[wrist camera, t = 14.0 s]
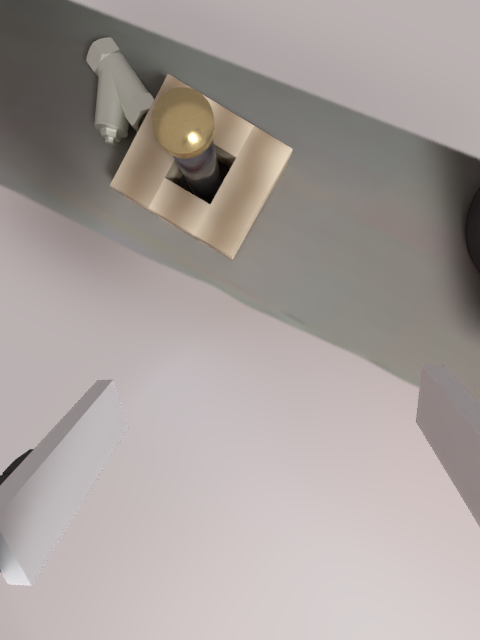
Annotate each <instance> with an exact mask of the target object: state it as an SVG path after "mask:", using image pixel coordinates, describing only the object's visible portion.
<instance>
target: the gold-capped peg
mask: <svg viewBox="0 0 480 640" xmlns="http://www.w3.org/2000/svg"><path fill="white" fill-rule="evenodd" d="M152 127H153V131H154V133H155V135H156V137H157V139H158V141H159V143H160V144H161V146H162V147H163V148H164V149H165V150H166V151H167V152H168V153H169V154H171V155H173V157H174V159H175V161H176V163H177V164H178V166H179V168H180V170H181V172H182V174H183V176H184V177H185V179H186V181H187V183H188V185H189V187H190V189H191V190H192V192H193V193H194V194H195V195H196V196H197V197H199V198H202V199H210V198H212V197H214V196H215V195H216V193H217V192H218V190H219V188H220V186H221V184H222V180H221V175H220V170H219V166H218V161H217V156H216V152H215V147H214V142H213V138H214V134H215V121H214V116H213V111H212V108H211V106H210V104H209V102H208V100H207V99H206V98H205V97H204V96H203V95H202V94H201V93H199V92H198V91H196V90H194V89H191V88H187V87H178V88H174V89H171V90H169V91H167V92H166V93H164V94H163V95H162V96H161V97H160V98H159V99H158V101H157V102H156V104H155V106H154V109H153V112H152Z"/></svg>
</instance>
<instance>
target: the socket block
mask: <svg viewBox="0 0 480 640" xmlns="http://www.w3.org/2000/svg"><path fill="white" fill-rule="evenodd" d="M178 87H187V88H191V87H189V86H188V85H186V84H184V83H183V82H181V81H179V80H178V79H176V78H174V77H173V76H171V75H169V74H168V75H167V77H166V78H165V80H164V82H163V84H162V86H161V88H160V90H159V92H158V94H157V96H156V98H155V100H154V102H153V103H152V105H151V107H150V109H149V111H148V113H147V115H146V117H145V119H144V121H143V123H142V125H141V127H140V129H139V130H138V132H137V134H136V136H135V138H134V140H133V142H132V144H131V146H130V148H129V150H128V152H127V154H126V155H125V157H124V159H123V161H122V163H121V165H120V167H119V169H118V171H117V173H116V175H115V177H114V179H113V180H112V182H111V184H110V186H111V187H112V188H114V189H115V190H116V191H118V192H119V193H120V194H122V195H123V196H124V197H126V198H127V199H129V200H131V201H132V202H134V203H136V204H138V205H139V206H141V207H143V208H144V209H146V210H148V211H149V212H151V213H153V214H155V215H156V216H158V217H160V218H161V219H163V220H165V221H166V222H168V223H170V224H172V225H173V226H175V227H177V228H178V229H180V230H182V231H183V232H185V233H187V234H188V235H190V236H192V237H194V238H195V239H197V240H199V241H200V242H202V243H204V244H205V245H207V246H209V247H211V248H212V249H214V250H216V251H217V252H219V253H221V254H222V255H224V256H226V257H228V258H229V259H231V260H234V258H235V256H236V254H237V253H238V251H239V249H240V247H241V246H242V244H243V242H244V240H245V239H246V237H247V235H248V233H249V232H250V230H251V228H252V226H253V225H254V223H255V221H256V219H257V218H258V216H259V214H260V212H261V211H262V209H263V207H264V205H265V204H266V202H267V200H268V198H269V197H270V195H271V193H272V191H273V190H274V188H275V186H276V184H277V183H278V181H279V179H280V177H281V176H282V174H283V172H284V170H285V169H286V167H287V165H288V162H289V159H290V156H291V153H292V150H293V149H291V148H290V147H288V146H287V145H285V144H283V143H282V142H280V141H278V140H277V139H275V138H273V137H272V136H270V135H268V134H267V133H265V132H263V131H262V130H260V129H258V128H257V127H255V126H254V125H252V124H250V123H249V122H247V121H245V120H244V119H242V118H240V117H239V116H237V115H235V114H234V113H232V112H230V111H229V110H227V109H226V108H224V107H222V106H221V105H219V104H217V103H216V102H214V101H212V100H211V99H209V98H207V97H206V96H204V95H203V96H204V97H205V98H206V99H207V100H208V102H209V104H210V106H211V108H212V111H213V116H214V121H215V134H214V138H213V142H214V147H215V152H216V156H217V160H218V161H219V162H221V163H223V164H224V165H226V166H228V167H229V168H230V170H229V172H228V174H227V175H226V177H225V179H224V181H223V183H222V184H221V186H220V188H219V190H218V192H217V193H216V195H215V197H214V199H213V201H212V202H211V204H208V203H207V202H205V201H203V200H202V199H200V198H198V197H197V196H195V195H193V194H191V193H190V192H188V191H186V190H185V189H183V188H181V187H180V186H178V185H177V183H178V182H179V180H180V178H181V176H182V172H181V170H180V168H179V166H178V164H177V163H176V161H175V159H174V157H173V155H171V154H169V153H168V152H167V151H166V150H165V149H164V148H163V147H162V146H161V144H160V143H159V141H158V139H157V137H156V135H155V133H154V131H153V127H152V112H153V109H154V106H155V104H156V102H157V101H158V99H159V98H160V97H161V96H162V95H163V94H164V93H166V92H167V91H169V90H171V89H174V88H178ZM191 89H193V88H191Z"/></svg>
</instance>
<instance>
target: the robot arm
mask: <svg viewBox="0 0 480 640" xmlns="http://www.w3.org/2000/svg"><path fill="white" fill-rule="evenodd" d="M466 238H467V244H468V249H469V252H470V255H471V257H472V259H473V261H474V263H475V265H476V267H477V268H478V270H479V271H480V189H479V190H478V192H477V194H476V195H475V197H474V199H473V201H472V204H471V206H470V209H469V213H468V217H467V224H466ZM416 422H417V424H418V426H419V427H420V429H421V430H422V432H423V434H424V435H425V437H426V439H427V441H428V442H429V444H430V445H431V447H432V448H433V450H434V452H435V454H436V455H437V457H438V459H439V460H440V462H441V463H442V465H443V467H444V469H445V470H446V472H447V473H448V475H449V477H450V478H451V480H452V482H453V483H454V485H455V486H456V488H457V490H458V491H459V493H460V495H461V497H462V498H463V500H464V502H465V503H466V505H467V506H468V508H469V509H470V511H471V513H472V515H473V516H474V518H475V519H476V521H477V523H478V525H479V526H480V403H479V402H478V401H477V400H476V399H475V398H474V397H473V396H472V394H471V393H470V392H469V391H468V390H467V389H466V388H465V387H464V386H463V385H462V384H461V383H460V382H459V381H458V380H457V379H456V378H455V377H454V376H453V375H452V374H451V373H450V372H449V370H448V369H447V368H446V367H445V366H444V365H424V366H422V372H421V381H420V390H419V399H418V408H417V417H416ZM127 429H128V427H127V424H126V420H125V417H124V414H123V411H122V407H121V404H120V401H119V397H118V394H117V391H116V388H115V384H114V381H113V380H100V381H99V380H98V381H97V382H96V383H95V384H94V385H93V386H92V387H91V388H90V389H89V390H88V391H87V392H86V393H85V395H84V396H83V397H82V398H81V399H80V400H79V401H78V402H77V403H76V404H75V405H74V407H72V409H71V410H70V411H69V412H68V413H67V414H66V415H65V416H64V417H63V419H61V420H60V422H59V423H58V424H57V425H56V426H55V427H54V428H53V429H52V430H51V431H50V432H49V433H48V435H47V436H46V437H45V438H44V439H43V440H42V441H41V442H40V443H39V444H38V445H37V446H36V447H35V449H30V450H28V451H27V452H26V453H24V454H23V455H21V456H20V457H19V458H17V459H16V460H15V461H14V462H13V463H12V464H11V465H10V466H9V467H8V468H7V469H6V470H5V471H4V472H3V475H1V476H0V572H1V573H2V575H3V576H4V578H5V580H6V581H7V583H8V584H12V585H32V584H33V583H34V581H35V579H36V578H37V576H38V574H39V573H40V571H41V569H42V568H43V566H44V564H45V563H46V561H47V560H48V558H49V556H50V555H51V553H52V552H53V550H54V548H55V547H56V545H57V543H58V541H59V540H60V539H61V537H62V535H63V534H64V532H65V530H66V529H67V527H68V525H69V524H70V522H71V521H72V519H73V517H74V516H75V514H76V512H77V511H78V509H79V507H80V506H81V504H82V503H83V501H84V499H85V498H86V496H87V494H88V493H89V491H90V489H91V488H92V486H93V485H94V483H95V481H96V480H97V478H98V476H99V475H100V473H101V472H102V470H103V468H104V467H105V465H106V463H107V462H108V460H109V458H110V457H111V455H112V453H113V452H114V450H115V449H116V447H117V445H118V444H119V442H120V441H121V439H122V437H123V436H124V434H125V432H126V431H127Z"/></svg>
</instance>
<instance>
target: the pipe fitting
mask: <svg viewBox="0 0 480 640" xmlns="http://www.w3.org/2000/svg"><path fill="white" fill-rule="evenodd" d="M86 61H87V63H88V64H89V66H90V67H91V69H92V70H93V71H94V73H95V74H96V75H97V76H98V89H97V100H96V111H95V123H94V126H95V128H96V129H97V130H98V131H100V132H101V136H102V137H103V138H104V139H105V142H106V143H107V144H109V145H115V142H119V141H120V138H126V137H127V136H128V126H129V123H130V124H131V125H132V127H133V128H134V129H135V130H136V131H137V132H138V130H139V129H140V127H141V125H142V123H143V121H144V119H145V117H146V115H147V113H148V111H149V109H150V107H151V105H152V103H153V102H154V98H153V97H152V96H151V94H150V93H149V92H148V91H147V89H146V88H145V87H144V85H143V84H142V82H141V81H140V79H139V78H138V76H137V75H136V74H135V72H134V71H133V69H132V68H131V66H130V65H129V64H128V62H127V60H126V59H125V57H124V55H123V54H122V52H121V51H120V49H119V48H118V46H117V45H116V44H115V42H114V41H113V39H112V38H101V39H99V40H96V41H95V42H93V43H92V45H91V47H90V49H89V51H88V54H87V59H86Z"/></svg>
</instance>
